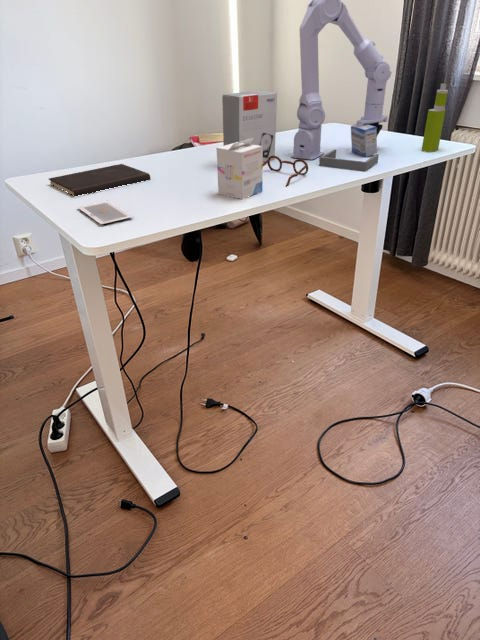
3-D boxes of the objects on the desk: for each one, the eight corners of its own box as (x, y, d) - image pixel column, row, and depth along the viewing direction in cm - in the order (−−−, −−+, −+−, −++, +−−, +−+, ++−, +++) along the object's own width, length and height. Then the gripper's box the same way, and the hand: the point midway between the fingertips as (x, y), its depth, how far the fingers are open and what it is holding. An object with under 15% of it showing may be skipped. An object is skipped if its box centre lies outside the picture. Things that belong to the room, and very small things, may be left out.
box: (365, 171, 142) (366, 162, 140) (319, 165, 148) (319, 157, 147) (377, 162, 150) (378, 154, 149) (333, 157, 157) (333, 149, 155)
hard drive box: (238, 168, 147) (237, 96, 137) (222, 164, 152) (220, 94, 142) (276, 160, 155) (277, 91, 145) (260, 156, 160) (260, 89, 150)
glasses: (308, 177, 140) (309, 159, 137) (286, 188, 130) (287, 170, 128) (268, 171, 146) (269, 154, 143) (245, 182, 137) (245, 163, 134)
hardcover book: (50, 186, 136) (48, 178, 135) (122, 171, 149) (121, 163, 148) (75, 199, 126) (73, 190, 125) (151, 181, 139) (150, 173, 137)
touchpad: (108, 204, 122) (107, 196, 120) (134, 221, 111) (133, 211, 110) (77, 211, 118) (76, 202, 117) (101, 229, 107) (100, 219, 106)
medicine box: (351, 152, 162) (349, 126, 157) (362, 148, 163) (361, 121, 158) (366, 157, 156) (365, 130, 151) (377, 153, 157) (376, 125, 152)
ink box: (238, 186, 132) (237, 134, 125) (263, 191, 127) (263, 137, 120) (217, 194, 126) (215, 140, 119) (242, 200, 121) (241, 144, 114)
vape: (440, 149, 163) (452, 83, 153) (429, 152, 160) (441, 85, 150) (430, 147, 166) (442, 83, 155) (419, 150, 163) (430, 84, 152)
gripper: (376, 99, 162) (371, 142, 169) (350, 104, 154) (346, 149, 161) (395, 101, 158) (389, 145, 165) (369, 107, 149) (363, 152, 156)
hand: (369, 147), depth 163 cm, fingers closed
